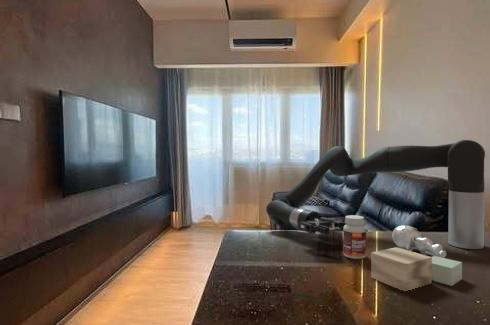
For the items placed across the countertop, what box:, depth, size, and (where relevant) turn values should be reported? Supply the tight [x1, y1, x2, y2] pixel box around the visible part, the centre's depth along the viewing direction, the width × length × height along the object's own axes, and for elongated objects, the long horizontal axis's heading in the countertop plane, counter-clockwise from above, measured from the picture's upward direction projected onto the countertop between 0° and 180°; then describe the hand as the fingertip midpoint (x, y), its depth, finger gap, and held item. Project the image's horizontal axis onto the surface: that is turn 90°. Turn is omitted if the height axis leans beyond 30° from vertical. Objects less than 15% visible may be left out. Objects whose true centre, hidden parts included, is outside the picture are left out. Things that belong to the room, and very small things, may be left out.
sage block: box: [431, 256, 463, 287], centre depth 75 cm, size 6×6×4 cm
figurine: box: [392, 224, 447, 258], centre depth 94 cm, size 11×7×15 cm
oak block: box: [370, 246, 433, 292], centre depth 74 cm, size 9×9×6 cm
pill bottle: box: [342, 214, 367, 260], centre depth 92 cm, size 6×6×11 cm
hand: (339, 229), depth 97 cm, fingers open, 8 cm apart
